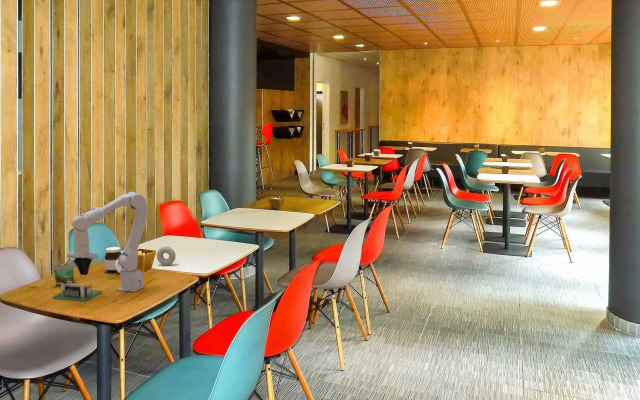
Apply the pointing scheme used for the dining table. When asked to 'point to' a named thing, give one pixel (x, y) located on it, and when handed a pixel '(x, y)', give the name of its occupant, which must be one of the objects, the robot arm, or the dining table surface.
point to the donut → (162, 259)
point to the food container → (64, 272)
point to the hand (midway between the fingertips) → (84, 274)
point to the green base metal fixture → (76, 293)
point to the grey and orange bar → (77, 285)
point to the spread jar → (112, 259)
